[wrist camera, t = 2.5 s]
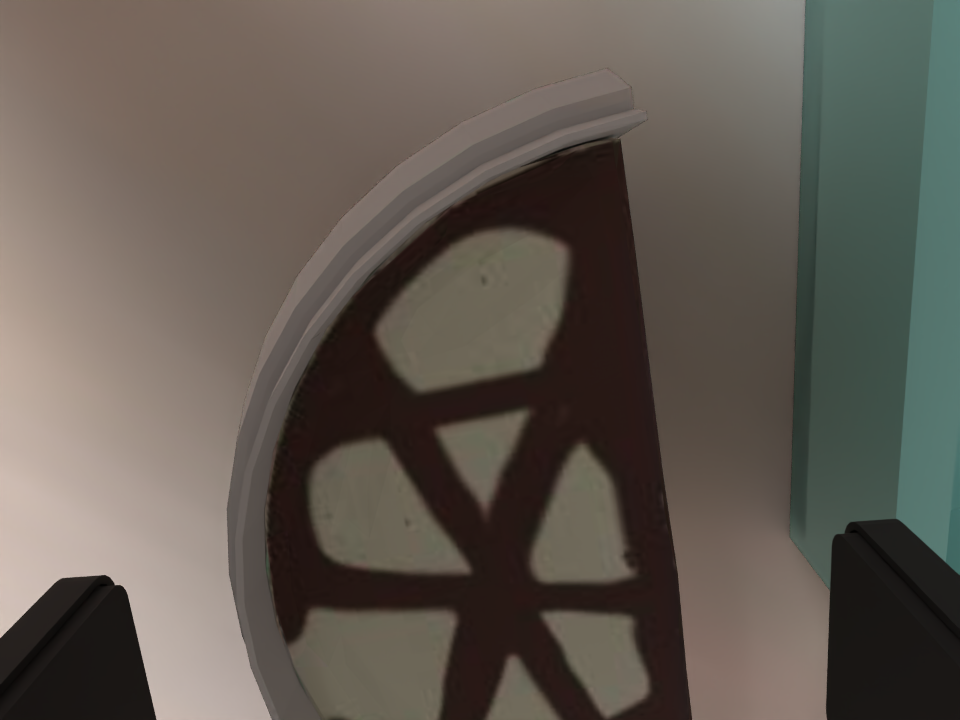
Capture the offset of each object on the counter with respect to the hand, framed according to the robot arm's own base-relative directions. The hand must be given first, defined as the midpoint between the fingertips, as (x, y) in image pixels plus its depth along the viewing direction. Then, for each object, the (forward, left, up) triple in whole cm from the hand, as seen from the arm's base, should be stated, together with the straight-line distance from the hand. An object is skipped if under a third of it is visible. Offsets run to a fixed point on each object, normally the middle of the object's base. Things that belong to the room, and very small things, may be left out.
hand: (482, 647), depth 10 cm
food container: (-1, 0, -10) cm, 10 cm away
